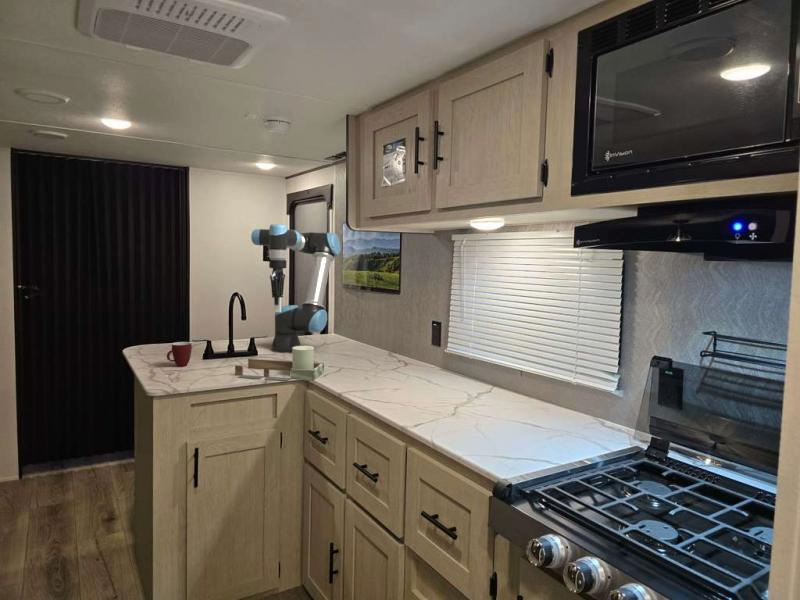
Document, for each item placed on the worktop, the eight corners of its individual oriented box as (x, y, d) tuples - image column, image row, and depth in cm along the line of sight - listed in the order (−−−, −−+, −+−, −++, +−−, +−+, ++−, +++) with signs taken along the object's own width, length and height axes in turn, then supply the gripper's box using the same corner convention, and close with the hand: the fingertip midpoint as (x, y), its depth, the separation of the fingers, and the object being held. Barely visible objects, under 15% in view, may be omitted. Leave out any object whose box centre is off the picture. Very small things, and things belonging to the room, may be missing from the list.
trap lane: (249, 367, 237) (249, 358, 237) (323, 372, 232) (323, 363, 232) (235, 375, 223) (235, 365, 223) (314, 380, 219) (314, 370, 218)
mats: (241, 375, 223) (241, 374, 223) (290, 378, 220) (290, 378, 220) (237, 377, 219) (237, 377, 219) (287, 381, 216) (287, 380, 216)
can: (310, 377, 223) (310, 349, 222) (288, 376, 224) (289, 348, 223) (316, 372, 232) (316, 345, 231) (296, 371, 233) (296, 344, 232)
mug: (173, 369, 229) (173, 346, 228) (163, 366, 234) (162, 344, 233) (195, 365, 238) (195, 343, 237) (184, 362, 243) (184, 341, 242)
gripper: (275, 258, 246) (274, 309, 248) (264, 259, 233) (263, 313, 235) (290, 259, 245) (290, 310, 247) (280, 260, 232) (280, 314, 234)
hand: (277, 311), depth 241 cm, fingers closed
